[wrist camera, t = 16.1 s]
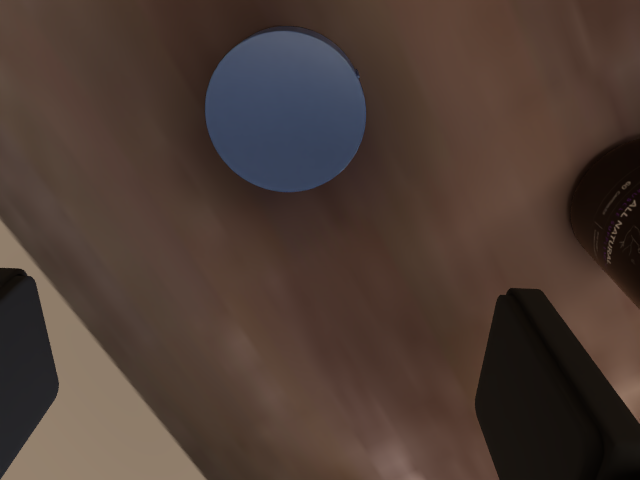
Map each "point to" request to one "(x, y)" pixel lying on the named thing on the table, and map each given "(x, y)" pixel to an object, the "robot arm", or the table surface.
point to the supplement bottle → (612, 216)
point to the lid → (286, 109)
